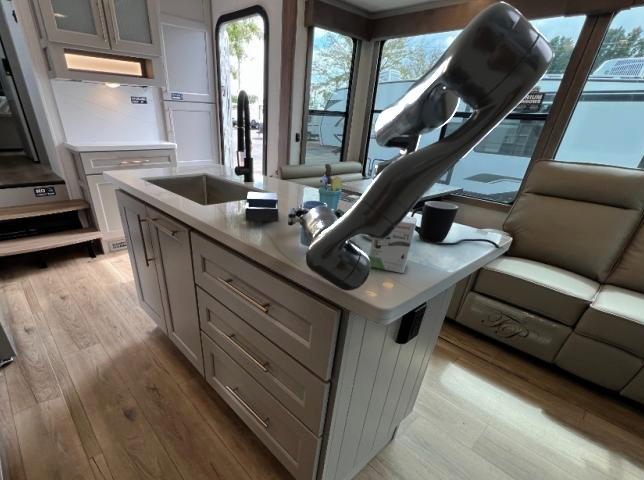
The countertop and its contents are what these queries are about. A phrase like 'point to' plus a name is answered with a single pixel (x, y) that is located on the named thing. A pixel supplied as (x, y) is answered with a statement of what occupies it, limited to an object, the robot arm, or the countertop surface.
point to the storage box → (262, 206)
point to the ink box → (393, 247)
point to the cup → (330, 192)
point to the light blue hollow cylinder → (310, 206)
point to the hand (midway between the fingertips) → (312, 209)
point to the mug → (436, 220)
